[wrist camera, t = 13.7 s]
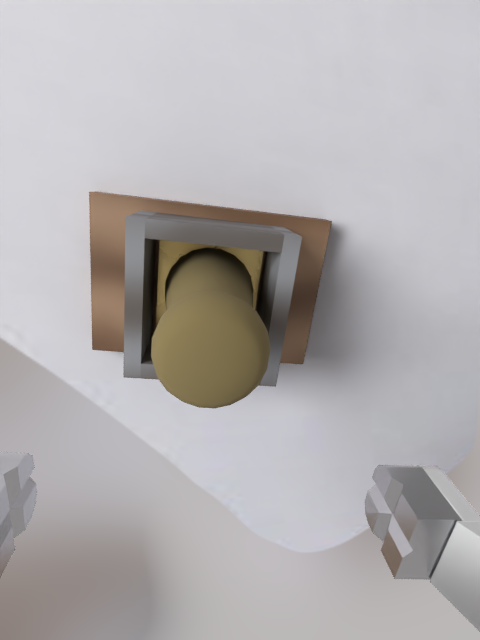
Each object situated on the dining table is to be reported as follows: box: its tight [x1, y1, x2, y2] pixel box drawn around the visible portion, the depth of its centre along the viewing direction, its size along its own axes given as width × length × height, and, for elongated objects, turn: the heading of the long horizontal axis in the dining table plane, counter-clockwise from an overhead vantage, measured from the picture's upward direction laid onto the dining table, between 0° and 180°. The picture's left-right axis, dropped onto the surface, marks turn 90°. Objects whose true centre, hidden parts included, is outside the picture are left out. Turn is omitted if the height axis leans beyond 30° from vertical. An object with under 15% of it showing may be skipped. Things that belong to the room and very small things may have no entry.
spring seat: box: [156, 240, 263, 327], centre depth 25 cm, size 7×7×1 cm
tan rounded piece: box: [151, 247, 271, 408], centre depth 19 cm, size 6×6×11 cm
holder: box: [89, 192, 332, 386], centre depth 24 cm, size 11×16×6 cm
